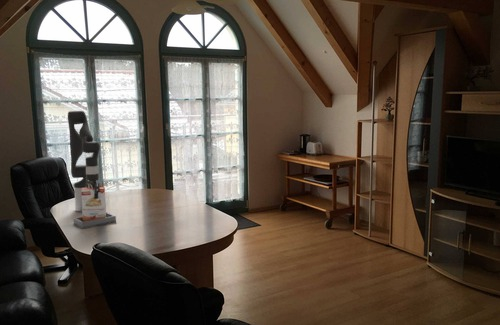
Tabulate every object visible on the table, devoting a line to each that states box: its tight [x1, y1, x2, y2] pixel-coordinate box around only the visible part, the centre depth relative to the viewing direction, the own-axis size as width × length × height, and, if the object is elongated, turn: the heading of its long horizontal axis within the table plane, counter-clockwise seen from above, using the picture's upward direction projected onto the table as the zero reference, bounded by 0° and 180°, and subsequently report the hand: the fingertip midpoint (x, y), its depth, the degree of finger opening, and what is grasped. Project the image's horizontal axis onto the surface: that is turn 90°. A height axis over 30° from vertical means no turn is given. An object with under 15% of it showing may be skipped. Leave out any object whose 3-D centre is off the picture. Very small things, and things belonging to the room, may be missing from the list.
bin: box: [72, 211, 117, 230], centre depth 270 cm, size 14×22×4 cm, turn 134°
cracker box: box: [81, 186, 107, 221], centre depth 268 cm, size 14×6×21 cm, turn 105°
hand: (93, 197), depth 268 cm, fingers closed on cracker box, 8 cm apart
